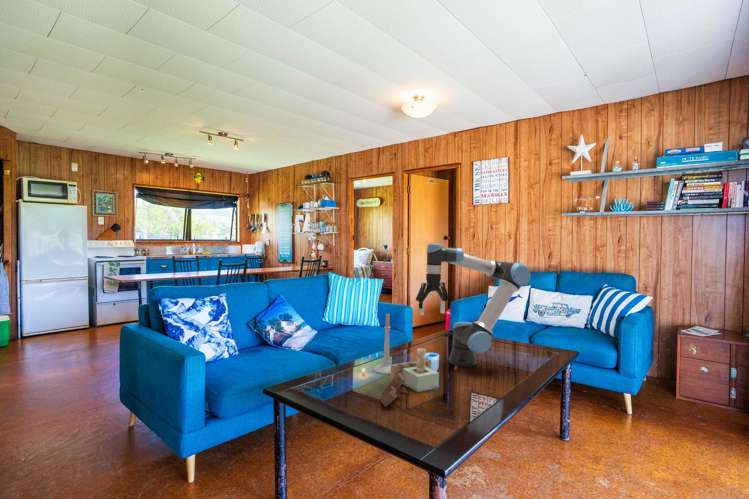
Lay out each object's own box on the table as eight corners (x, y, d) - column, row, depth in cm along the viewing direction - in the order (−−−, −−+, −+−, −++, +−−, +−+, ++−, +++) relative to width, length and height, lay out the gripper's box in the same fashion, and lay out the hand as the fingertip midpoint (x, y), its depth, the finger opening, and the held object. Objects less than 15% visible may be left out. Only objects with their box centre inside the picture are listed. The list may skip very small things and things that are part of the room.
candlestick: (398, 367, 211) (400, 311, 210) (397, 375, 198) (399, 316, 198) (374, 365, 212) (376, 310, 212) (372, 373, 199) (374, 314, 199)
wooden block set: (386, 413, 159) (401, 398, 155) (372, 396, 162) (387, 381, 158) (403, 396, 175) (418, 383, 171) (391, 381, 178) (405, 367, 174)
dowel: (420, 381, 184) (422, 347, 183) (426, 384, 180) (427, 350, 180) (413, 382, 182) (415, 348, 181) (419, 385, 178) (420, 351, 178)
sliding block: (422, 379, 189) (423, 365, 189) (438, 388, 179) (439, 372, 179) (402, 383, 183) (402, 368, 183) (417, 392, 173) (417, 376, 173)
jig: (427, 379, 194) (428, 358, 194) (456, 393, 176) (457, 371, 176) (390, 385, 183) (390, 364, 183) (416, 402, 165) (417, 379, 165)
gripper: (447, 272, 212) (446, 311, 212) (409, 272, 199) (408, 314, 200) (456, 273, 205) (455, 313, 206) (418, 274, 193) (417, 316, 193)
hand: (432, 314), depth 203 cm, fingers open, 13 cm apart
